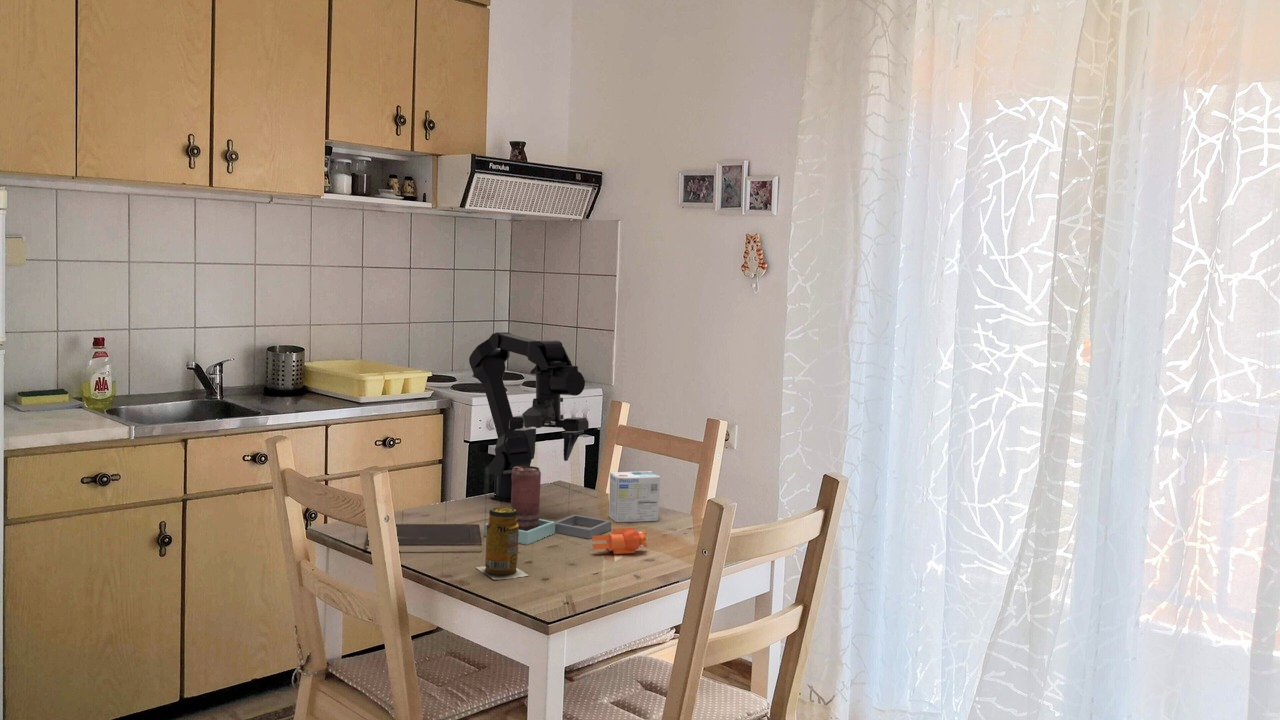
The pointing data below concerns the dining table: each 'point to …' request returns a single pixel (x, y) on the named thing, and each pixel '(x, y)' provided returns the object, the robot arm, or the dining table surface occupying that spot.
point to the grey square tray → (566, 527)
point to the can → (526, 496)
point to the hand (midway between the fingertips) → (548, 459)
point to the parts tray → (533, 532)
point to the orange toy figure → (621, 541)
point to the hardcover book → (438, 538)
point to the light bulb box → (634, 496)
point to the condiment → (502, 545)
